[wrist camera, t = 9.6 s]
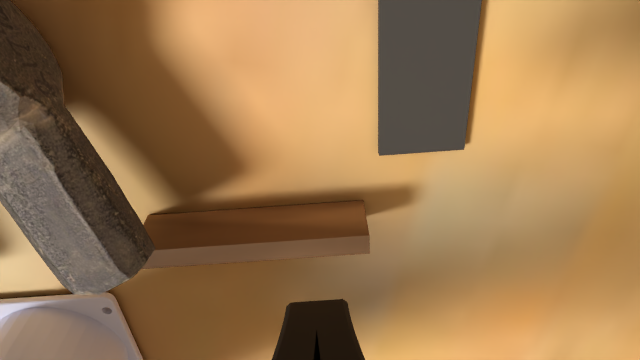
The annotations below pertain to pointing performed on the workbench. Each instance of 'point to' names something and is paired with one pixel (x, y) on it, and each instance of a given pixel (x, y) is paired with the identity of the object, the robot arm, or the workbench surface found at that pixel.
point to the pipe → (59, 172)
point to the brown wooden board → (257, 234)
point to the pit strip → (425, 73)
